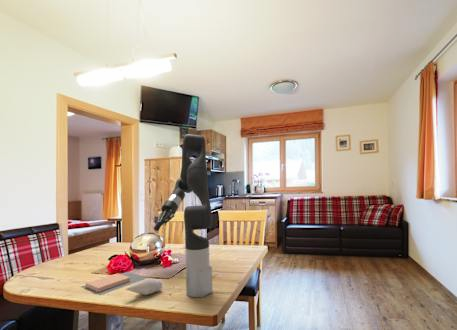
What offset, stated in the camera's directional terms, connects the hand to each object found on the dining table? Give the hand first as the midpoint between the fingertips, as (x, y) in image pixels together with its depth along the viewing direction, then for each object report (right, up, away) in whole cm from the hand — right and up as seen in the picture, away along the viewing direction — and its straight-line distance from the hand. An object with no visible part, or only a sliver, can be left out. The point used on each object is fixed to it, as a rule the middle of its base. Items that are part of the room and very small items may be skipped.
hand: (155, 229), depth 127 cm
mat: (-14, -20, -12) cm, 28 cm away
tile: (-12, -19, -8) cm, 24 cm away
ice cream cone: (+3, -19, -25) cm, 32 cm away
